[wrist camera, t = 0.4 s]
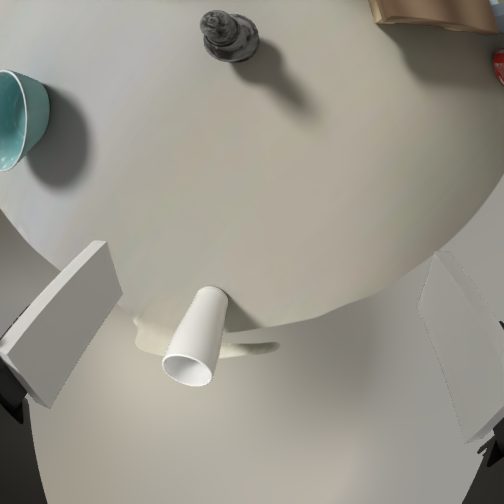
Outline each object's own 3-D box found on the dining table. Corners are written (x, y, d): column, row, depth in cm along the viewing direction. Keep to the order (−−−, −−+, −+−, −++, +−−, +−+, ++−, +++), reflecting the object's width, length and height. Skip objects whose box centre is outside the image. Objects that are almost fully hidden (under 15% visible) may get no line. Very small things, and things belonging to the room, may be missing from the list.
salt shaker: (254, 16, 26) (237, -19, 16) (267, 58, 29) (255, 39, 18) (206, 29, 27) (168, 4, 17) (218, 70, 30) (184, 60, 20)
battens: (365, -11, 22) (375, -24, 18) (449, -2, 19) (467, -10, 15) (375, 23, 24) (387, 14, 20) (458, 31, 22) (478, 26, 17)
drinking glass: (202, 273, 45) (170, 346, 32) (241, 294, 46) (222, 371, 33) (186, 301, 48) (155, 371, 35) (222, 319, 49) (201, 393, 36)
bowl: (33, 174, 39) (0, 191, 32) (-1, 112, 33) (-34, 123, 26) (79, 113, 34) (41, 122, 26) (40, 47, 28) (3, 49, 21)
